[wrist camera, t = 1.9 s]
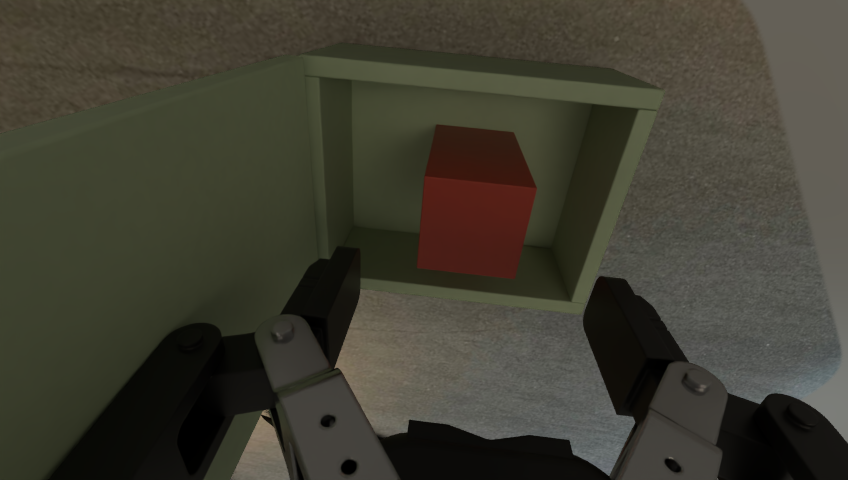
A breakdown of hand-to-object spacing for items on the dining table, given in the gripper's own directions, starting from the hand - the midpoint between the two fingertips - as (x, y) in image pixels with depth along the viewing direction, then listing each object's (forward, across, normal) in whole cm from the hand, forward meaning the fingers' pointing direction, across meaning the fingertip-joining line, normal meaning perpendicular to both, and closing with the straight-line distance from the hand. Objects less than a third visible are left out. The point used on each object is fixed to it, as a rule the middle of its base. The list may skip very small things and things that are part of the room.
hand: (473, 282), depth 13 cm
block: (+12, 0, 0) cm, 12 cm away
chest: (+12, 0, 0) cm, 12 cm away
